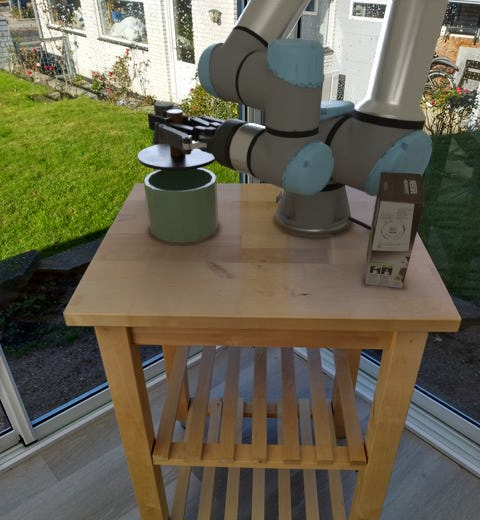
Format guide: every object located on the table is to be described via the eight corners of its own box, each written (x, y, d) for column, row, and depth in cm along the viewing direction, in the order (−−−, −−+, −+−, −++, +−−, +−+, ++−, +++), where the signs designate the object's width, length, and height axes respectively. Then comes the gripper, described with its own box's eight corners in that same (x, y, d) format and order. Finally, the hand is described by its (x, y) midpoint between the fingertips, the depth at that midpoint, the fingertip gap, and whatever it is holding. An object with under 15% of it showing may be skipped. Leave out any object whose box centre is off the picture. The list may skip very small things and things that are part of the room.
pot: (221, 215, 106) (220, 167, 99) (212, 245, 95) (209, 193, 88) (159, 213, 107) (154, 165, 100) (142, 242, 96) (135, 190, 90)
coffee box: (403, 289, 82) (425, 204, 70) (364, 284, 83) (379, 200, 72) (402, 255, 88) (422, 172, 77) (365, 252, 89) (380, 169, 78)
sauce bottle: (150, 194, 115) (139, 104, 103) (168, 186, 119) (159, 98, 107) (171, 201, 112) (163, 108, 100) (189, 192, 116) (182, 102, 104)
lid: (222, 149, 98) (222, 102, 93) (211, 175, 86) (209, 123, 81) (149, 147, 99) (144, 100, 94) (128, 172, 87) (121, 121, 82)
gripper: (206, 183, 76) (124, 148, 90) (278, 160, 85) (192, 132, 99) (204, 133, 71) (118, 105, 85) (280, 114, 80) (190, 91, 94)
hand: (158, 119), depth 92 cm, fingers closed on lid, 3 cm apart
